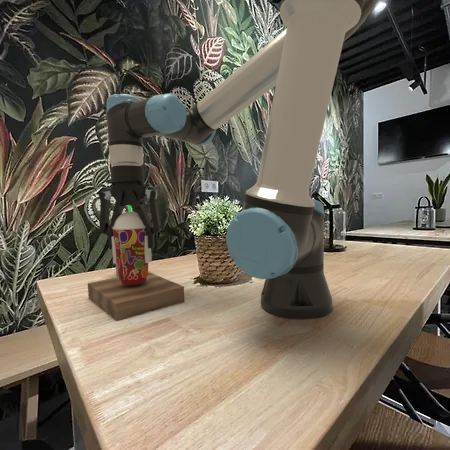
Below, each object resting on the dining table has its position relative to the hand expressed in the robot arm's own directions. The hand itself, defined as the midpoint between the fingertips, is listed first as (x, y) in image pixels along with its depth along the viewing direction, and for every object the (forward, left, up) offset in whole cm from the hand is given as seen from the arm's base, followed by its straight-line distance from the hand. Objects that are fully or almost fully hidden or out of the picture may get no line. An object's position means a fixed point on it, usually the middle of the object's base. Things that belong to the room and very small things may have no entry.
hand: (132, 261), depth 69 cm
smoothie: (0, 0, -5) cm, 5 cm away
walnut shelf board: (0, 0, -10) cm, 10 cm away
